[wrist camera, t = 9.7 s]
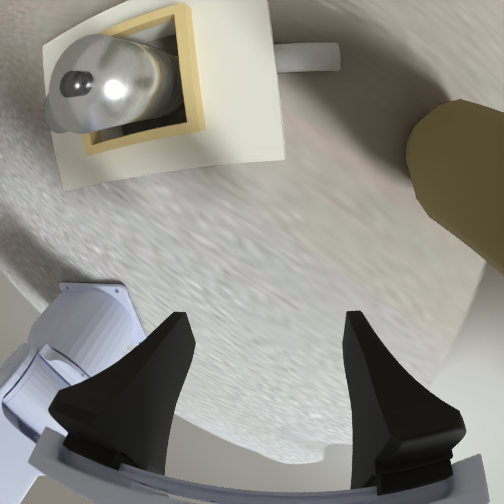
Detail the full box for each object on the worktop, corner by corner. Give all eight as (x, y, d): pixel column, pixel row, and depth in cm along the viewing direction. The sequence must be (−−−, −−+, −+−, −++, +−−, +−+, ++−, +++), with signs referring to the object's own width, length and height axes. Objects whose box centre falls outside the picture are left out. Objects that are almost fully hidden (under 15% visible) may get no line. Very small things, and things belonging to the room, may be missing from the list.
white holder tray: (85, 180, 20) (54, 197, 17) (65, 47, 15) (31, 46, 11) (340, 150, 17) (353, 162, 14) (321, -18, 11) (328, -43, 8)
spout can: (133, 125, 18) (44, 151, 10) (123, 65, 16) (30, 61, 8) (195, 108, 17) (122, 118, 9) (184, 44, 15) (108, 12, 7)
